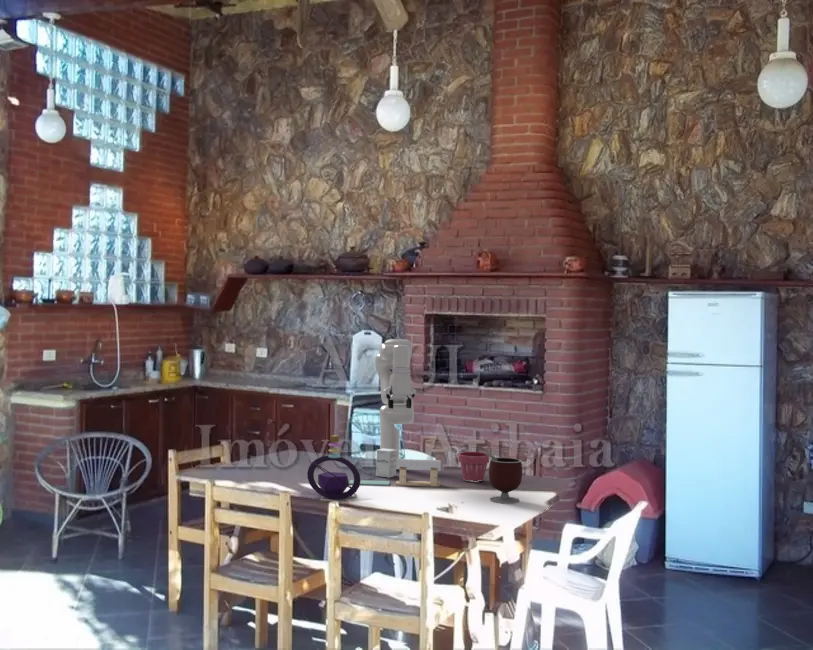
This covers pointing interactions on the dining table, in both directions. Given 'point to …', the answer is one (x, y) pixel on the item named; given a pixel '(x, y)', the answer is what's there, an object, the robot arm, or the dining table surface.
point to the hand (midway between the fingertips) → (399, 408)
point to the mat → (371, 482)
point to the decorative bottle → (333, 476)
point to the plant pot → (473, 465)
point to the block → (418, 464)
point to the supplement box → (386, 462)
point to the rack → (418, 483)
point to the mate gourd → (505, 478)
